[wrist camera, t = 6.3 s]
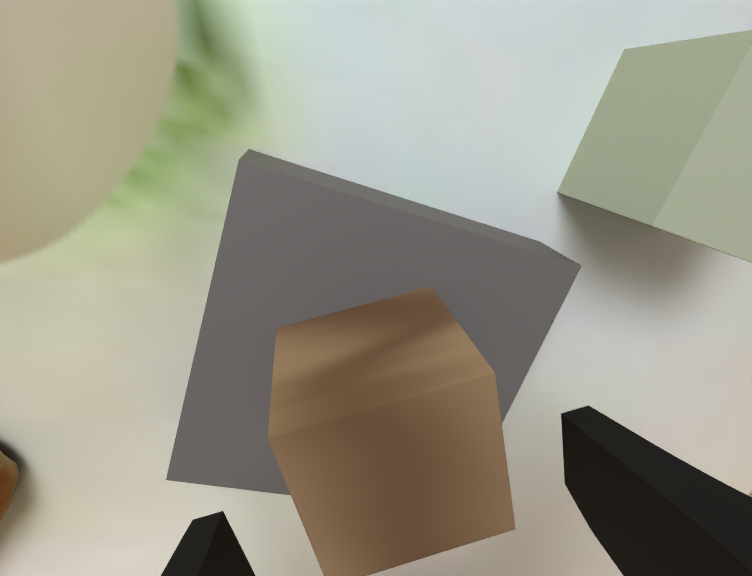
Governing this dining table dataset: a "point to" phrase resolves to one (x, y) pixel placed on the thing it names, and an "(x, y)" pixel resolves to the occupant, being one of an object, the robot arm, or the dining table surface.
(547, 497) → the dining table surface
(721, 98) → the sage green cube
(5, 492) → the pastry
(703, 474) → the robot arm
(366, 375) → the walnut cube
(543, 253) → the charcoal slab
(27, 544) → the dining table surface
